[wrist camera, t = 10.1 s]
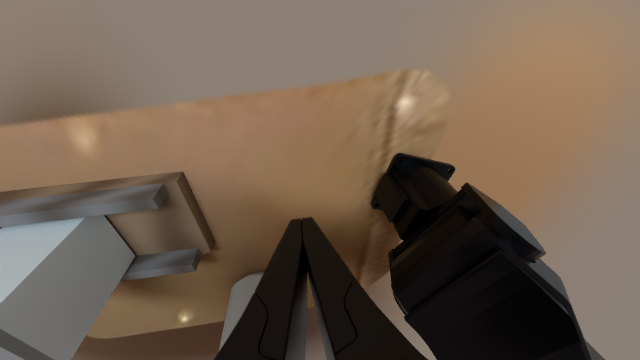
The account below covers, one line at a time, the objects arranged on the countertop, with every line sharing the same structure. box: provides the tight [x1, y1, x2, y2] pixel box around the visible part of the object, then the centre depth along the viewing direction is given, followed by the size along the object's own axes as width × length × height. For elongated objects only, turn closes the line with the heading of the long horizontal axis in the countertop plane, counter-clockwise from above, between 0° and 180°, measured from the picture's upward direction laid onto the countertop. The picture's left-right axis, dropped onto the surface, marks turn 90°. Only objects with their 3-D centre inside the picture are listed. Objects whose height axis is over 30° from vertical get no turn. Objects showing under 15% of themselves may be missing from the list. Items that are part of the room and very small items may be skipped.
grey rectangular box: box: [0, 215, 135, 360], centre depth 18 cm, size 6×6×10 cm
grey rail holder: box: [0, 172, 215, 281], centre depth 21 cm, size 16×9×4 cm, turn 93°
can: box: [219, 272, 264, 351], centre depth 27 cm, size 8×8×12 cm
